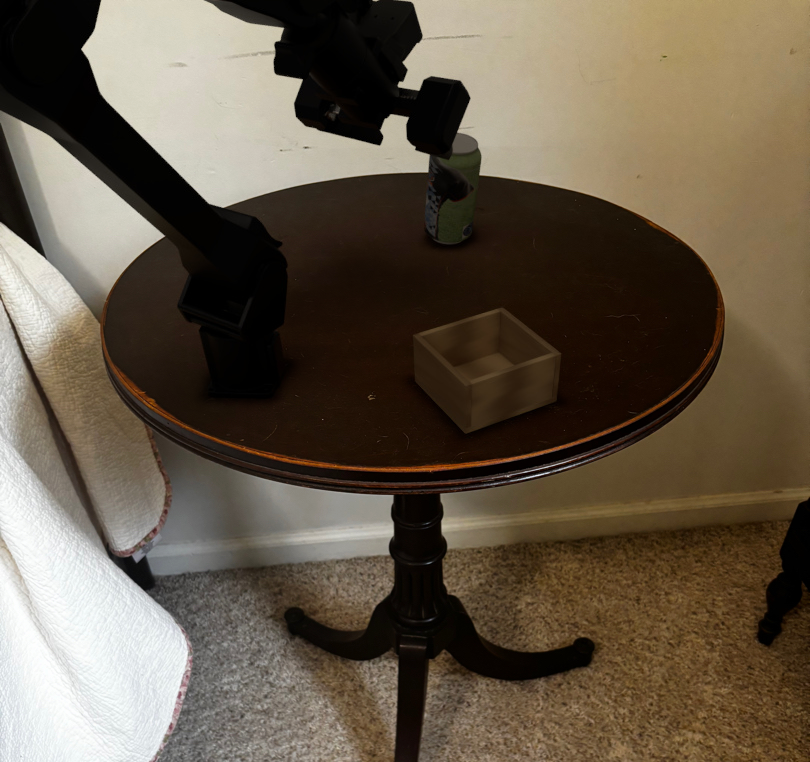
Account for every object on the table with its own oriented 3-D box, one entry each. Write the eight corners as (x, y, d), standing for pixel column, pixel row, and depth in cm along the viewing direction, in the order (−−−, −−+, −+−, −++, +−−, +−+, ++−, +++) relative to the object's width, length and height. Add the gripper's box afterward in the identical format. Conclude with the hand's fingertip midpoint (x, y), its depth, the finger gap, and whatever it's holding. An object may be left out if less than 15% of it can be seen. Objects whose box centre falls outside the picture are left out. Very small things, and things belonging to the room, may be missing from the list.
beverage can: (443, 223, 103) (442, 123, 95) (490, 237, 100) (493, 134, 91) (413, 241, 100) (409, 139, 91) (460, 256, 96) (460, 151, 88)
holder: (465, 434, 71) (465, 386, 68) (414, 381, 78) (412, 334, 74) (556, 401, 74) (561, 353, 71) (500, 353, 81) (502, 306, 77)
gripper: (459, -22, 68) (518, 86, 82) (295, -36, 76) (374, 64, 90) (409, 106, 69) (476, 191, 83) (253, 79, 77) (338, 160, 91)
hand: (414, 148), depth 87 cm, fingers open, 9 cm apart
